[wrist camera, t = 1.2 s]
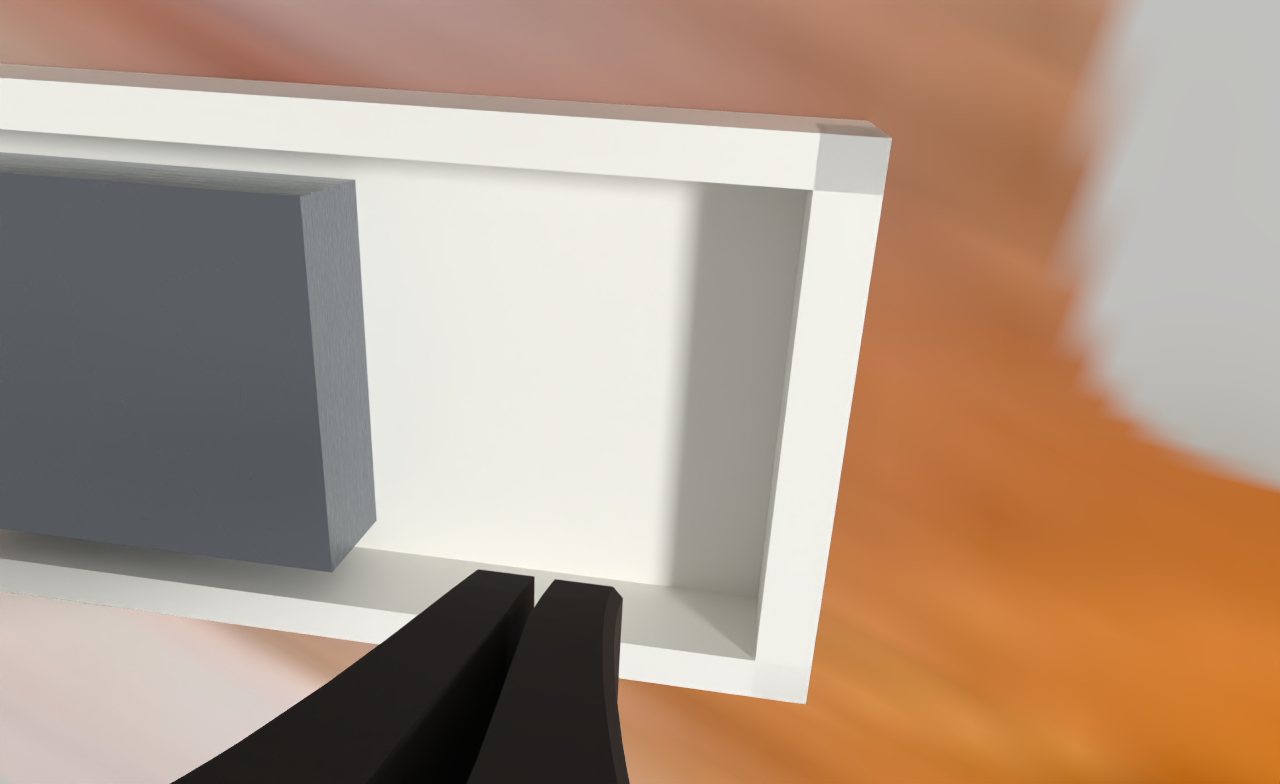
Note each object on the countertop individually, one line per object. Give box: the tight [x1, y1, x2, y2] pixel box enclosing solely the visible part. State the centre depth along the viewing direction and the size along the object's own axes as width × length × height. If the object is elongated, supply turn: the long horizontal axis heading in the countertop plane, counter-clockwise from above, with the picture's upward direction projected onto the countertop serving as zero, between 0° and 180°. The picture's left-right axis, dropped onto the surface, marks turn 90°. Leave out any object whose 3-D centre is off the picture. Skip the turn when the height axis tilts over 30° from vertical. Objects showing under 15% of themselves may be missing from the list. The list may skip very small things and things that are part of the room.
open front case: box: [0, 64, 892, 704], centre depth 17 cm, size 10×17×4 cm, turn 87°
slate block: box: [0, 152, 377, 572], centre depth 17 cm, size 7×8×2 cm
